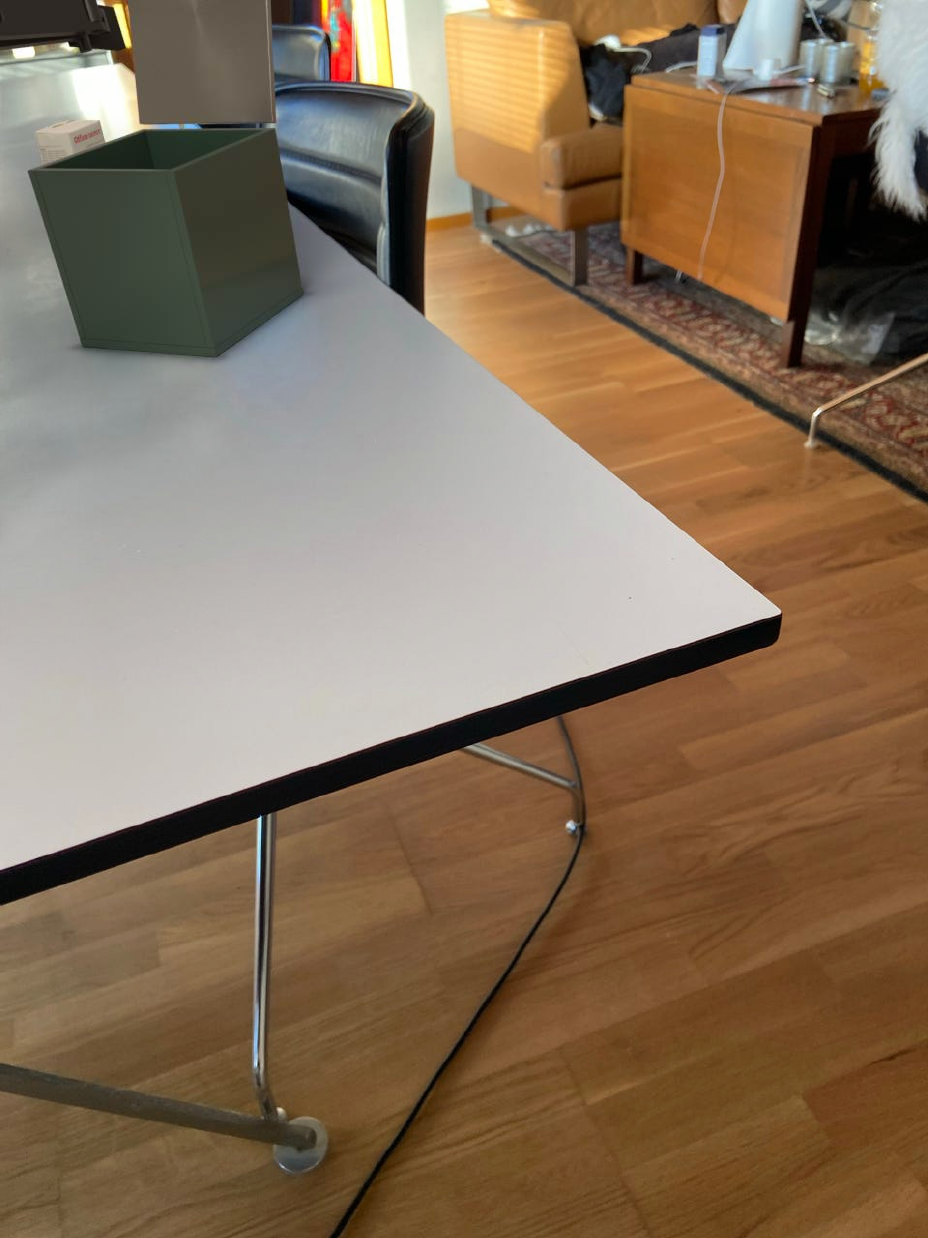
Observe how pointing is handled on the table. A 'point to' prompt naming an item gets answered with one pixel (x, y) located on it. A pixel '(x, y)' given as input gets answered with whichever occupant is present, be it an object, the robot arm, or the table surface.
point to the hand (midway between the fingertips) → (39, 51)
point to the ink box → (68, 138)
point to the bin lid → (203, 61)
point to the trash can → (171, 238)
